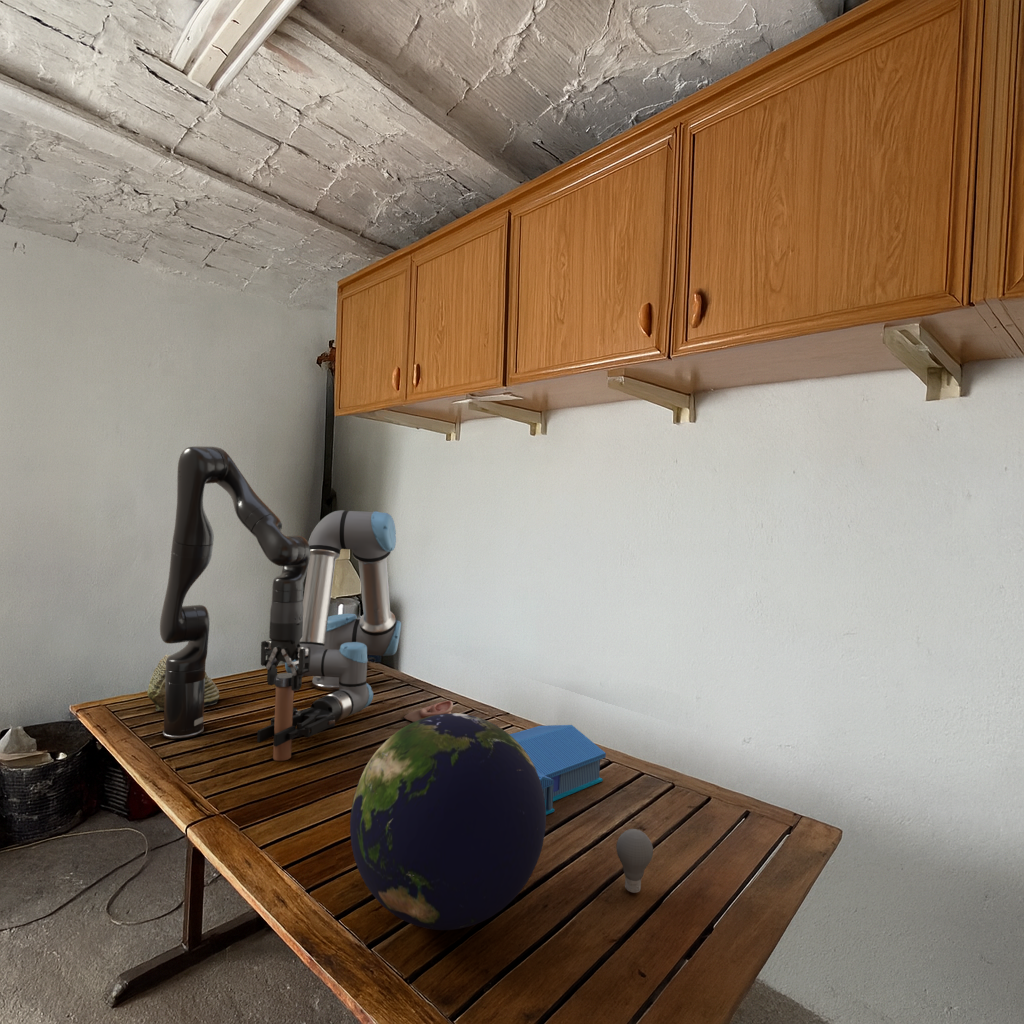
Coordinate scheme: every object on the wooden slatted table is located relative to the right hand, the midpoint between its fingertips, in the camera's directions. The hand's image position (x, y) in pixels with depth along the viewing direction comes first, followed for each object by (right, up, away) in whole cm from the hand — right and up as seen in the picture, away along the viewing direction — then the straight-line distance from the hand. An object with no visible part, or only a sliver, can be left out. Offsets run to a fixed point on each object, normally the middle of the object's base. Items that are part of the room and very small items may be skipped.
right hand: (266, 738), depth 148 cm
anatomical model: (+33, -7, +37) cm, 50 cm away
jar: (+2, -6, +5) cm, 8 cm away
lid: (+3, +13, +5) cm, 14 cm away
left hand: (+2, +11, +5) cm, 12 cm away
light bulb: (+77, -11, -42) cm, 89 cm away
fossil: (-39, -4, +37) cm, 54 cm away
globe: (+47, -9, -49) cm, 68 cm away
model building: (+58, -9, -7) cm, 59 cm away
